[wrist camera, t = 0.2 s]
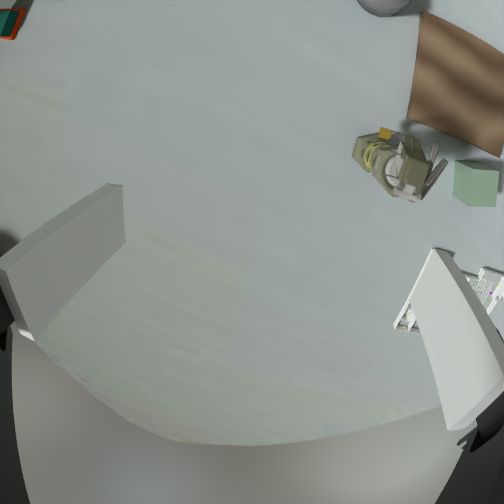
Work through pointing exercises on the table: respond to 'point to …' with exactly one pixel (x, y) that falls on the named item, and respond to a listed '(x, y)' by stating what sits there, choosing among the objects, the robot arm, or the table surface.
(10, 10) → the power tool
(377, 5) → the grey rounded block
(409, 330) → the floor plan model
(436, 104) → the walnut board
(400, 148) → the grenade
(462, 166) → the green block
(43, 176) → the table surface
